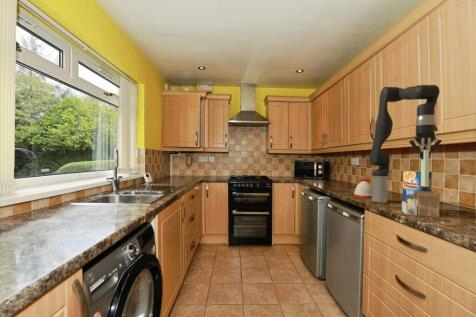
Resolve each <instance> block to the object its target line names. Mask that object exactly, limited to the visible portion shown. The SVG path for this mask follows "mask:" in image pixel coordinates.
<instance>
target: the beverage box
mask: <svg viewBox="0 0 476 317" xmlns="http://www.w3.org/2000/svg"><path fill="white" fill-rule="evenodd" d="M413 191H428V192H433V172H432V171H429V187H425V186H421V170H420V171H418V170H402V201H404V202H406V203H407V204H408V210H410V202H413Z"/></svg>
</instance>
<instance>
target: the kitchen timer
mask: <svg viewBox="0 0 476 317" xmlns="http://www.w3.org/2000/svg"><path fill="white" fill-rule="evenodd" d="M371 181H372V178H369V177H365V178H364V176H363V177H362V178H360V180H358V182H359V183H358V184H357V185H356V187H355V189H354V193H353V197H356V198H362V199H372V184H370V182H371Z"/></svg>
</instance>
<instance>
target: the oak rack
mask: <svg viewBox="0 0 476 317" xmlns="http://www.w3.org/2000/svg"><path fill="white" fill-rule="evenodd" d="M417 197H418V198H417ZM413 203H415V204H416V205H417V215H416V216H421V217H423V216H424V217H434V218H440V193H435V192H434V191H432V192H428V191H413Z"/></svg>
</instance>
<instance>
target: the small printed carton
mask: <svg viewBox="0 0 476 317" xmlns="http://www.w3.org/2000/svg"><path fill="white" fill-rule="evenodd" d="M401 211H402V213H404V214H405V215H408V216H409V215H410V216H418V215H417V205H416V204H415V203H413V202H410V209H408V204H407V203H406V202H404V201H403V200H402V201H401Z"/></svg>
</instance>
